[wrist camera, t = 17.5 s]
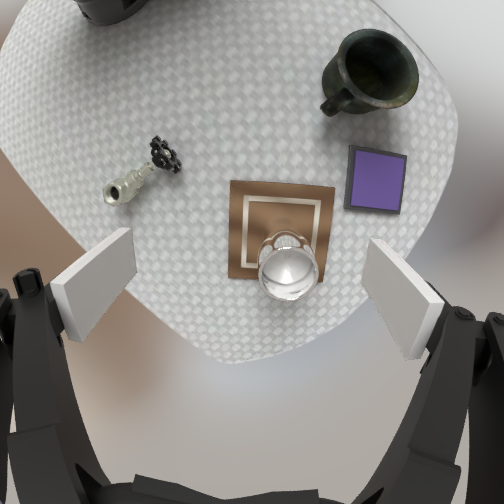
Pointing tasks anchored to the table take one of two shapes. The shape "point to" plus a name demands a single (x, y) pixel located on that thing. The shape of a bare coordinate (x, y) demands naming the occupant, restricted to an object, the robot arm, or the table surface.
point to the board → (270, 205)
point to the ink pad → (374, 180)
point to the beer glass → (285, 261)
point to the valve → (141, 174)
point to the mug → (369, 74)
